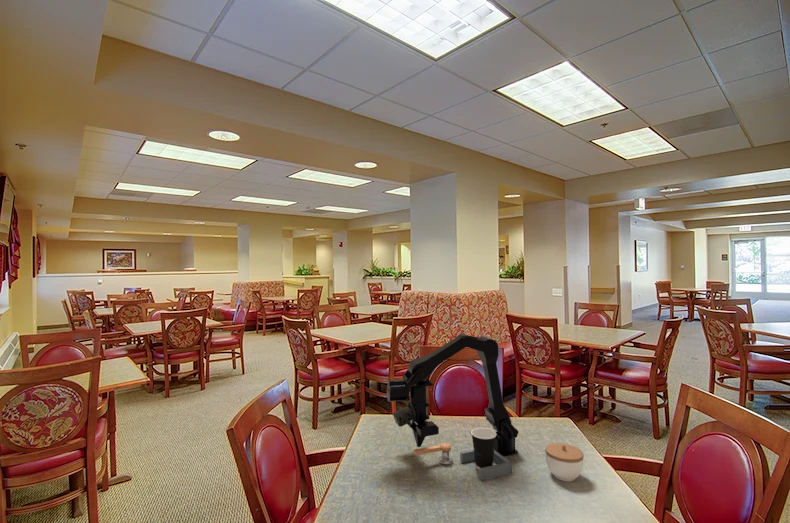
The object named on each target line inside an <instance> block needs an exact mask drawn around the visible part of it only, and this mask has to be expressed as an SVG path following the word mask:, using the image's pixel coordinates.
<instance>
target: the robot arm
mask: <svg viewBox="0 0 790 523" xmlns="http://www.w3.org/2000/svg"><path fill="white" fill-rule="evenodd" d="M465 348H469V349H472V350H475V351H476V353H477V355H478V357H479V359H480V361H481V364H482V369H483V372H484V377H485V378H484V380H485V385H486V391H487V395H488V402H489V403H488V407H485V408H484V412H485V416H486V417H485V419H486V421H487V422H488V423H489V424H490V425H491V426H492V428H493V429H494V431H495V432H496V434H497V435H496V437H495V447H494V450H495V451H496V452H498V453H499V454H500V455H501V456H503V457H506V456H509V455H510V456H511V455H516V454H519V451H518V450H517V449H516V438H518V435H519V430H518V429H517V428H516V427H515V426H514V425H513V424H512V420H511V417H510V414H509V412H508V410H507V407H506V406H505V405H504V400H503V394H502V388H501V383H500V376H499V372H498V364H497V362H498V359H499V344H498V342H497V341H496V340H494V339H492V338H490V337H487V336H485V335H481V336H479V337H477V336H473V335H467V334H466V333H460V334H458V335H457V336H456V337H455V338H453V339H451V340H450V341H448V342H446V343H445V344H444V345H442V346H440V347H439V348H437V349H436V350H434V351H432V352H431V353H428V354H427V355H422V356H420V357H416V358H414V359H412V360H411V361H410V362H409V363H408V365H407V366H408V368H407V370H406V371H405V373H404V374H403V375H402V377H401V378H402V379H388V381H387V382H388V383H387V385H386V386H387V388H386V398H387V402H390V403H391V402H402V401H403V402H405V401H407V402H406V406H404V407H402V408H399V409H398V410H396V411H394V412H393V413H392V416H393V418H394V421H395V424H397V426H398V427H400V428H401V427H404V426H405V425H408V427H410V428H411V430H412V433H413V437H414V440H415V444H416V447H417V448H422V446H423V443H424V441H425V438H426V437H431V436H435V435H439V434H440V427H439V426H438V425H437V424H435V422H434V421H432V420H430V414H428V408H429V407H430V403H429V402H428V387H432V386H434V382H432V381H431V380H430V379H429V378H428V377H429V376H431V375H432V373H433V372H434V371H435V369H436V368H437V367H438V366H440V365H441V364H443V363H444V362H446V361H447V360H448V359H450V358H452V357H453V356H455V355H456V354H458V353H460V352H461V351H462V350H464V349H465ZM408 399H409V400H408ZM429 420H430V421H429Z"/></svg>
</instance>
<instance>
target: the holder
mask: <svg viewBox="0 0 790 523" xmlns="http://www.w3.org/2000/svg"><path fill="white" fill-rule="evenodd" d="M459 453H460V454H459V455H460V458H459V460H460V461H459V462H460V463H461V464H462V463H468V462H469V463H470V462H475V457H474V448H473V449H469V450H468V449H467V450H463V451H460V452H459ZM493 463H494V464H493V466H488V467H483V468H479V470H478V479H479V480H480V481H485V480H489V479H493V478H498V477H502V476H507V475H513V463H512V462H511V461H510V460H508V459H507V458H506V457H505V456H502V455H500V454H499V453H498V452H496V451H495V450H494V457H493Z"/></svg>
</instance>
